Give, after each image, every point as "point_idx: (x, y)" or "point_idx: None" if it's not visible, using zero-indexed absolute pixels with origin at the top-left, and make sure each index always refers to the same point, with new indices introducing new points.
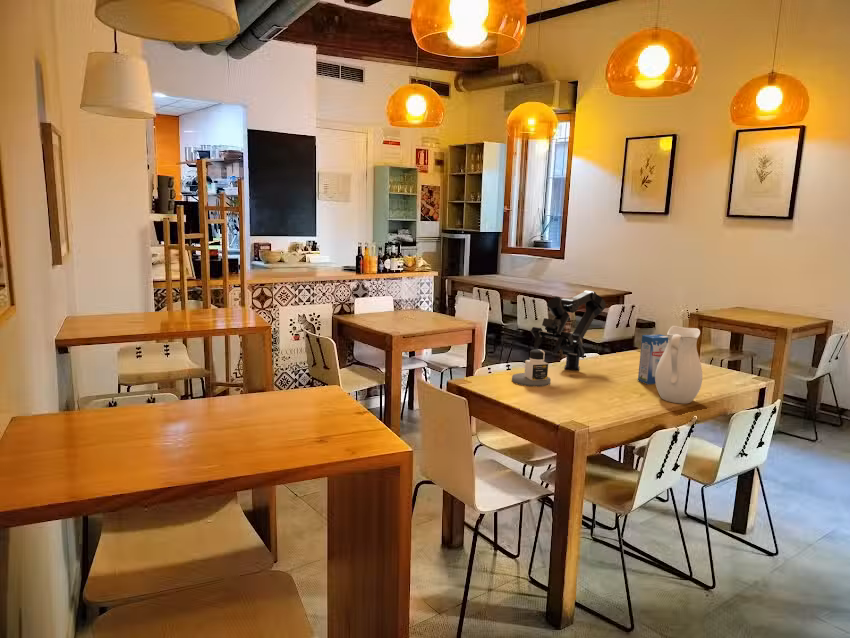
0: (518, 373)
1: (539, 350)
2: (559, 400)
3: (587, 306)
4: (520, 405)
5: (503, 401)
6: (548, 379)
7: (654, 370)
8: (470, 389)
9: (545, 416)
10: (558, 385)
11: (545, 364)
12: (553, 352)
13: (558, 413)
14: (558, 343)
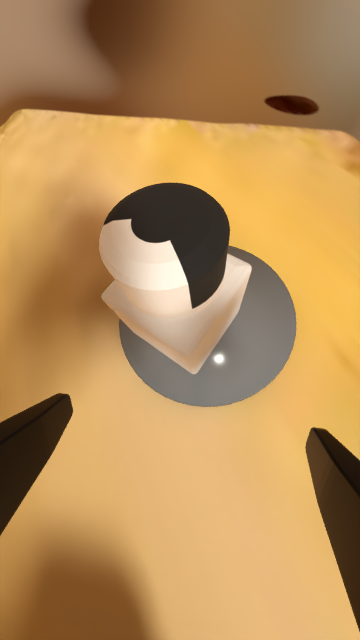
0: (292, 339)
1: (141, 225)
2: (48, 206)
3: None
4: (119, 127)
5: (163, 121)
6: (131, 342)
7: None
8: (288, 128)
9: (52, 117)
10: (90, 343)
11: (114, 282)
12: (57, 397)
13: (33, 141)
14: None
